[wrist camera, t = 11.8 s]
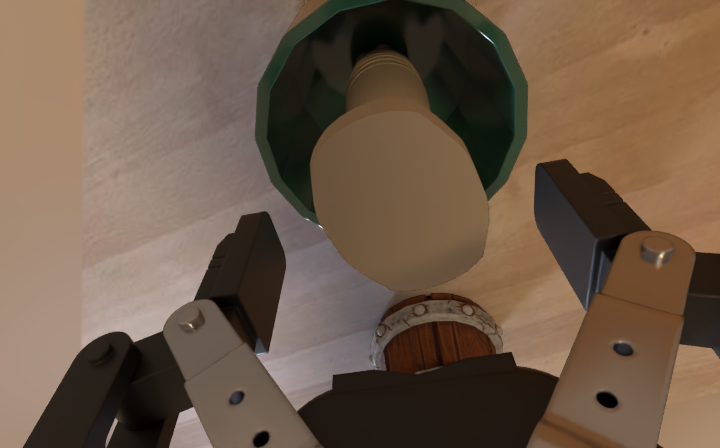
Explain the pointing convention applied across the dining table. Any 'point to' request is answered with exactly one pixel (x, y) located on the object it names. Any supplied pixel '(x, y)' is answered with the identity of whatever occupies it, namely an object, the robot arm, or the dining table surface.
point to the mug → (433, 334)
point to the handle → (397, 181)
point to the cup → (428, 56)
